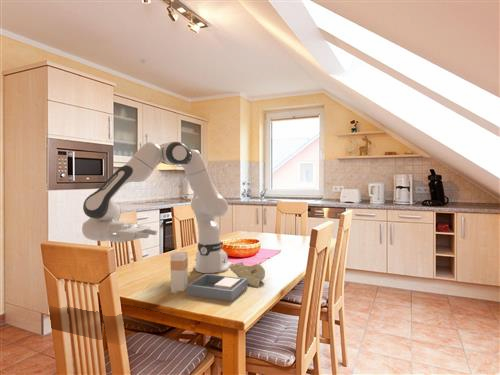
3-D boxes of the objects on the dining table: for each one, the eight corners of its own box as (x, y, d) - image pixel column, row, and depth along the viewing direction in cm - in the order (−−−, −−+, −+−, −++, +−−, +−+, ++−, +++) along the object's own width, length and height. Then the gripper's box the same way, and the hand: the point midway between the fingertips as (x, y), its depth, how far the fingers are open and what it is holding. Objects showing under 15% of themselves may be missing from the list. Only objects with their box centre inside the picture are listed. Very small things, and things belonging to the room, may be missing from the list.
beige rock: (271, 290, 139) (263, 262, 150) (267, 282, 134) (259, 254, 146) (238, 300, 140) (232, 272, 151) (233, 293, 135) (228, 264, 146)
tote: (206, 284, 141) (206, 273, 141) (247, 290, 134) (247, 278, 134) (186, 297, 126) (186, 285, 126) (231, 304, 119) (231, 291, 119)
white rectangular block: (225, 287, 134) (225, 277, 134) (240, 289, 132) (240, 279, 132) (214, 295, 125) (214, 284, 125) (230, 298, 122) (230, 286, 122)
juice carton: (175, 288, 137) (175, 251, 136) (187, 288, 136) (187, 251, 136) (170, 292, 131) (170, 254, 131) (183, 293, 131) (183, 255, 130)
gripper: (108, 227, 125) (142, 229, 124) (131, 222, 145) (161, 224, 144) (107, 243, 125) (141, 245, 124) (131, 236, 145) (160, 238, 144)
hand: (152, 234), depth 134 cm, fingers open, 8 cm apart
